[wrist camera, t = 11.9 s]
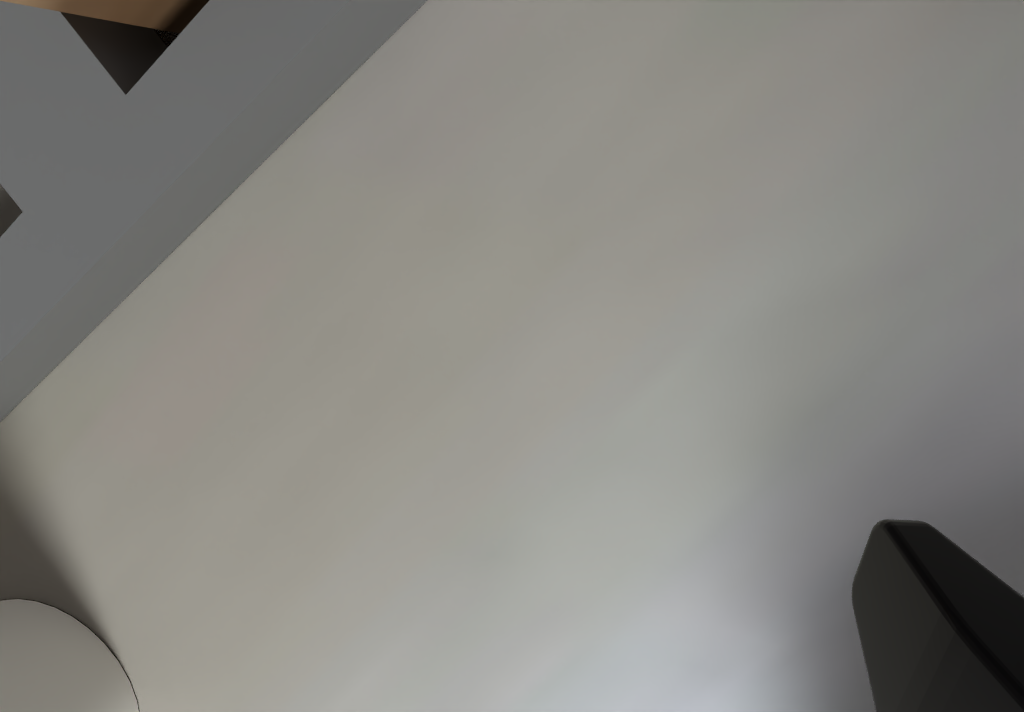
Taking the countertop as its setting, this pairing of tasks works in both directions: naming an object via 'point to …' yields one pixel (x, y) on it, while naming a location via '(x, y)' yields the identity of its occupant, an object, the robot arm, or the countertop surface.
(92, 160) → the socket block
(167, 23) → the brown wooden block
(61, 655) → the cylindrical container
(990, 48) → the countertop surface
